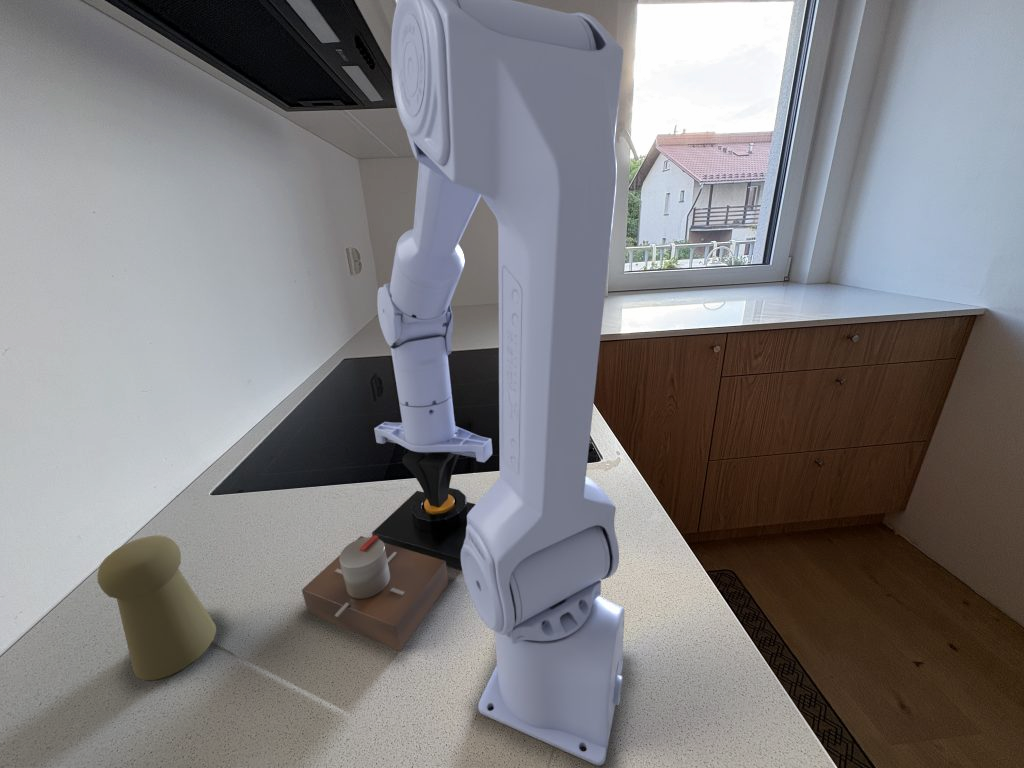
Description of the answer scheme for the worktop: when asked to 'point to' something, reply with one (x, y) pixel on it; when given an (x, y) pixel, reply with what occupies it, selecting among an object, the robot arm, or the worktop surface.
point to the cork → (156, 607)
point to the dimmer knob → (365, 567)
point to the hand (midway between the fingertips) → (439, 501)
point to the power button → (444, 508)
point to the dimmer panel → (381, 597)
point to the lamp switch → (428, 528)
